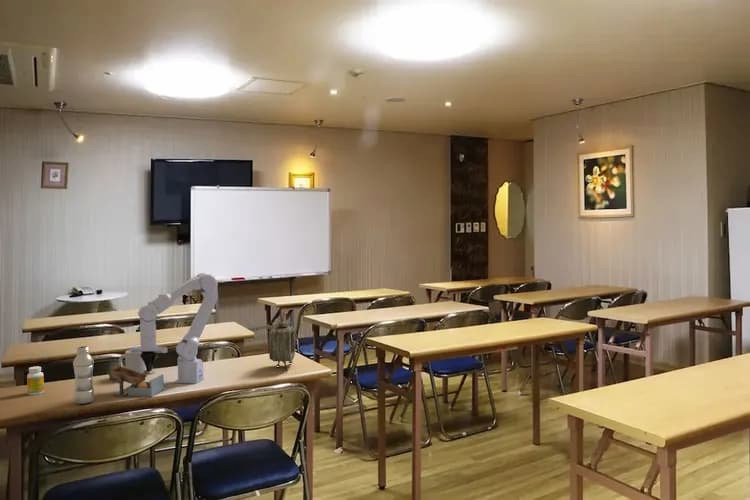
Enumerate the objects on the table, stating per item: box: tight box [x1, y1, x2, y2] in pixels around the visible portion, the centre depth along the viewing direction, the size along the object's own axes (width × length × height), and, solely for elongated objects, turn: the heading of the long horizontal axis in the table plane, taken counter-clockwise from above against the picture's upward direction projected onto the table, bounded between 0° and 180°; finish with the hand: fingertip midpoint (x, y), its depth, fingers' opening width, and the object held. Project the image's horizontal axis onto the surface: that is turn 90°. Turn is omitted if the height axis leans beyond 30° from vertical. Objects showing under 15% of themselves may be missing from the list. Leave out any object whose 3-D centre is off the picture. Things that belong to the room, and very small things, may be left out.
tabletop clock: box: [268, 310, 296, 370], centre depth 252 cm, size 14×9×25 cm, turn 179°
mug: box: [118, 349, 149, 378], centre depth 240 cm, size 12×8×11 cm
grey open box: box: [127, 374, 165, 398], centre depth 216 cm, size 9×9×6 cm
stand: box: [113, 378, 133, 398], centre depth 217 cm, size 5×11×7 cm, turn 172°
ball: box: [137, 381, 147, 388], centre depth 216 cm, size 4×4×4 cm
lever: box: [108, 366, 156, 385], centre depth 220 cm, size 11×13×4 cm
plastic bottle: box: [72, 345, 96, 405], centre depth 204 cm, size 6×7×20 cm
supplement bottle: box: [26, 365, 45, 396], centre depth 217 cm, size 5×5×10 cm
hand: (149, 370), depth 224 cm, fingers closed, pressing on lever
